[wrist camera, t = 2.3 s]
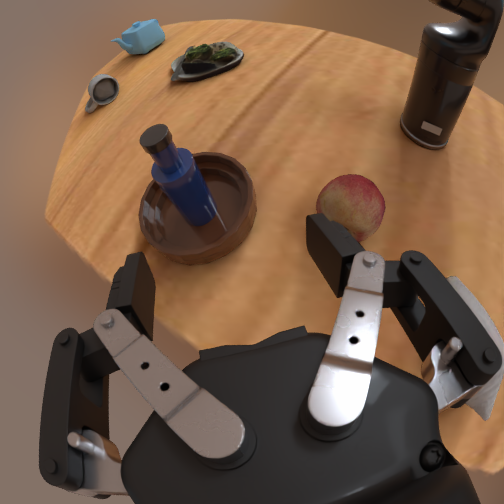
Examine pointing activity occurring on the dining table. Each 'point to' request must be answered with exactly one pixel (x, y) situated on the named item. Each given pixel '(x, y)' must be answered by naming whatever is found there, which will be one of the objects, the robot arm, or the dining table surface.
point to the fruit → (353, 205)
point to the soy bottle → (179, 176)
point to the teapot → (141, 37)
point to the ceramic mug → (101, 91)
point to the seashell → (487, 394)
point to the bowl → (214, 232)
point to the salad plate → (206, 61)
